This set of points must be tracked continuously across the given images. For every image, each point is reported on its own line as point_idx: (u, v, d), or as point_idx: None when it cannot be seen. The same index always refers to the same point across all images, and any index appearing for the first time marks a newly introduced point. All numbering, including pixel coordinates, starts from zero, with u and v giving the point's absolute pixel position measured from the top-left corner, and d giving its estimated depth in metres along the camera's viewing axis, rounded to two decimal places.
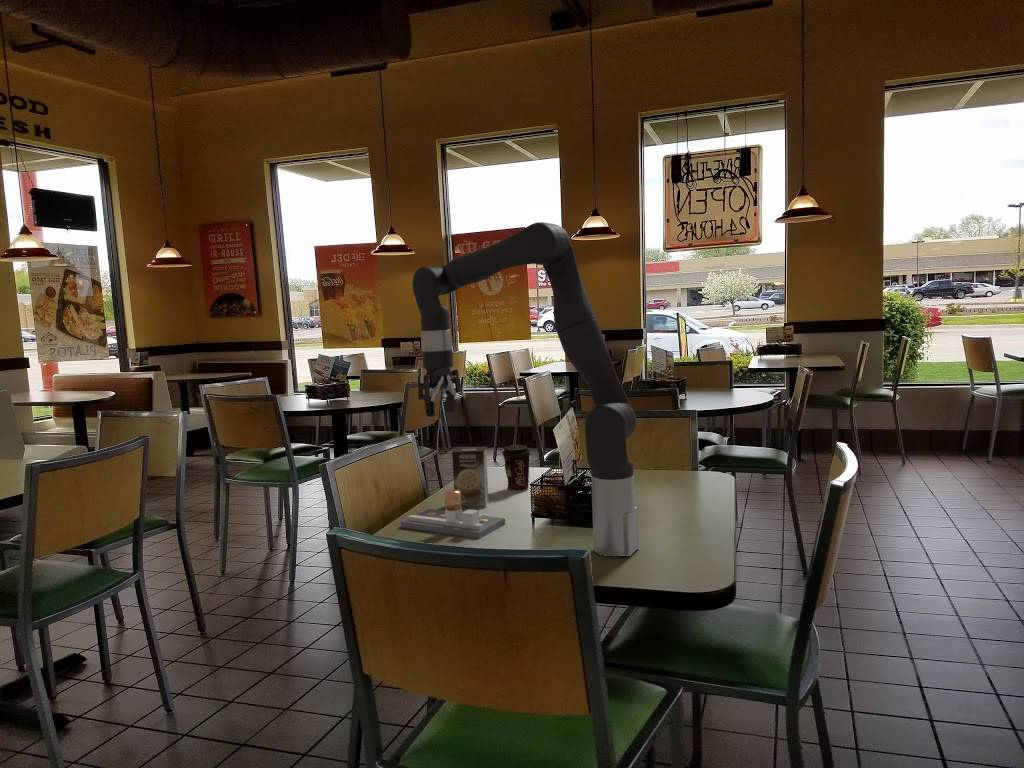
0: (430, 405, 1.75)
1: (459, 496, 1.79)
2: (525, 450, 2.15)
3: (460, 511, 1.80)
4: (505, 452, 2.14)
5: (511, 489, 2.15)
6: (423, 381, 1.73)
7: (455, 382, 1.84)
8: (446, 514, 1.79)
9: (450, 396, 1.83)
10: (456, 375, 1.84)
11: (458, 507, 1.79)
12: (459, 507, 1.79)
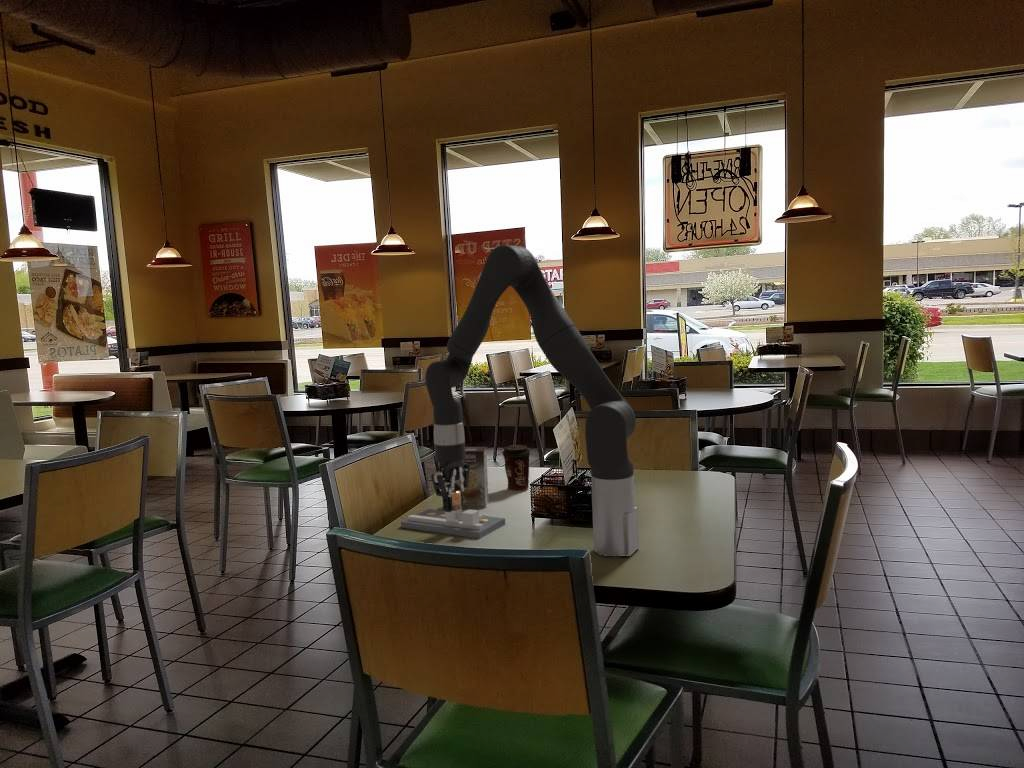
0: (448, 501, 1.77)
1: (459, 496, 1.79)
2: (525, 450, 2.15)
3: (460, 511, 1.80)
4: (505, 452, 2.14)
5: (511, 489, 2.15)
6: (437, 481, 1.73)
7: (465, 476, 1.83)
8: (446, 514, 1.79)
9: None
10: (467, 469, 1.83)
11: (458, 507, 1.79)
12: (459, 507, 1.79)
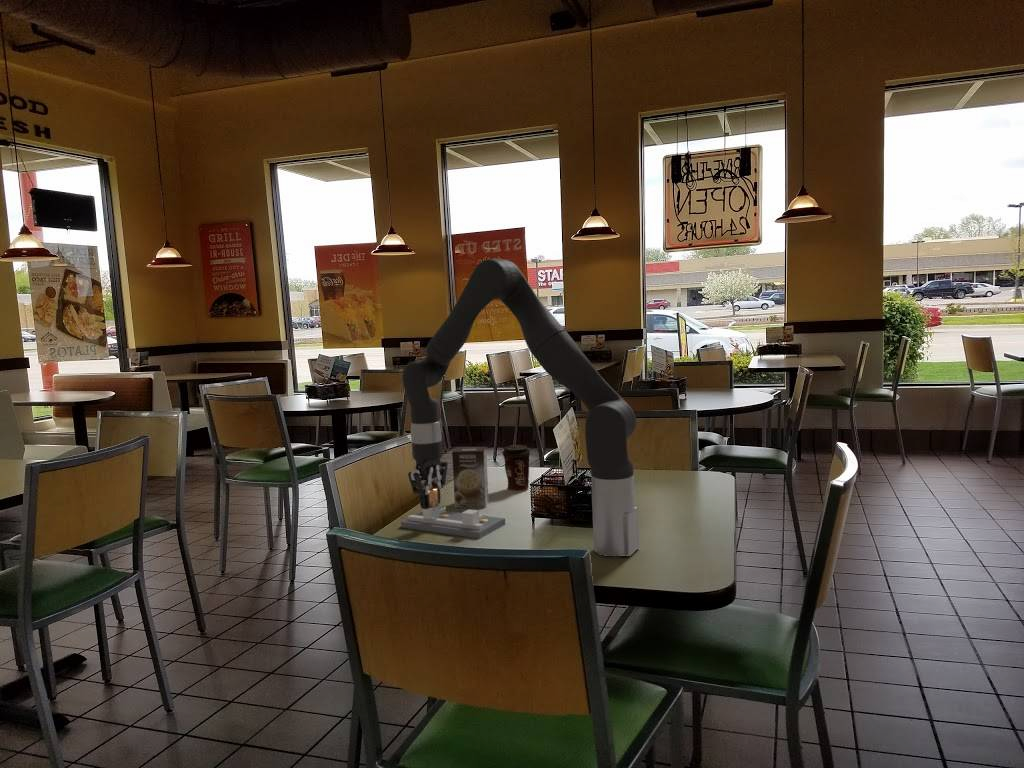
0: (424, 498, 1.80)
1: (436, 493, 1.82)
2: (525, 450, 2.15)
3: (437, 508, 1.84)
4: (505, 452, 2.14)
5: (511, 489, 2.15)
6: (414, 479, 1.77)
7: (442, 474, 1.86)
8: (423, 511, 1.83)
9: None
10: (445, 467, 1.87)
11: (435, 504, 1.82)
12: (436, 504, 1.82)
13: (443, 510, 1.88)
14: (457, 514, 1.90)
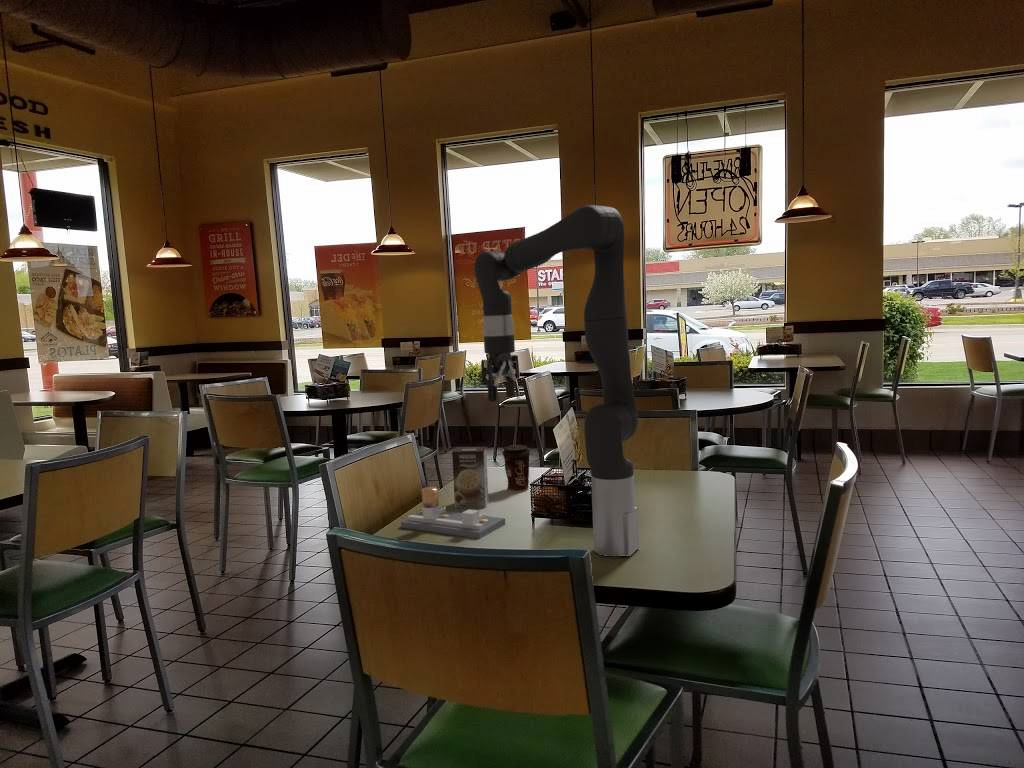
0: (493, 390, 1.75)
1: (436, 493, 1.82)
2: (525, 450, 2.15)
3: (437, 508, 1.84)
4: (505, 452, 2.14)
5: (511, 489, 2.15)
6: (487, 366, 1.73)
7: (515, 368, 1.84)
8: (423, 511, 1.83)
9: (510, 382, 1.83)
10: (516, 361, 1.84)
11: (435, 504, 1.82)
12: (436, 504, 1.82)
13: (443, 510, 1.88)
14: (457, 514, 1.90)
